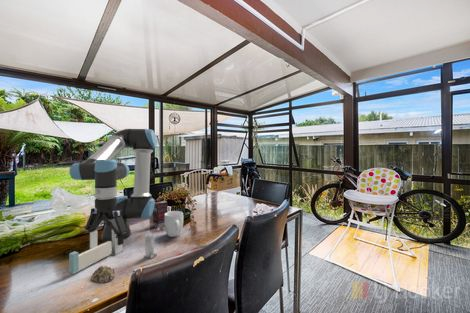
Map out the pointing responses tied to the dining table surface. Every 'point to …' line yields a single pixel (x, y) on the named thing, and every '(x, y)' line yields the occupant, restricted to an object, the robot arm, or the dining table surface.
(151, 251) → the latch post
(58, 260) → the dining table surface
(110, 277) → the mineral rock
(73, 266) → the gate
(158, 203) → the supplement box
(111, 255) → the hinge post
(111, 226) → the robot arm
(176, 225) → the mug
